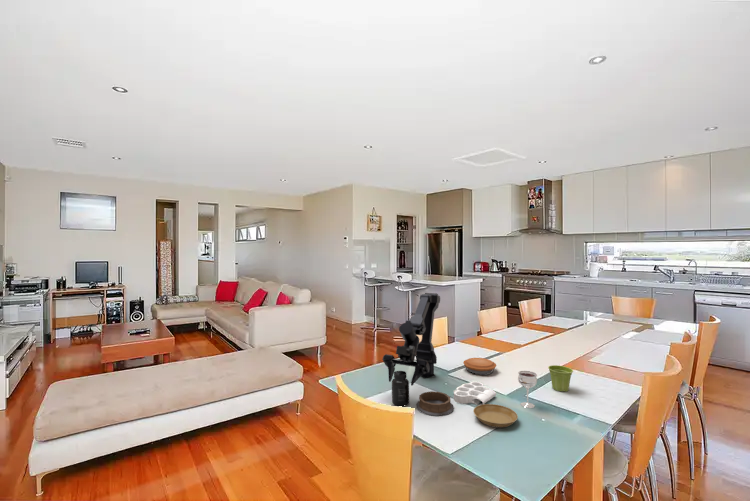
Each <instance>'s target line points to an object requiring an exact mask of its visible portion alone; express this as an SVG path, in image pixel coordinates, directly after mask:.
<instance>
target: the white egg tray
mask: <svg viewBox="0 0 750 501" xmlns="http://www.w3.org/2000/svg"><path fill="white" fill-rule="evenodd" d="M452 391H453V401H454V402H455V403H457V404H461V405H464V404H465V405H467V404H473V405H475V406H476V405H477V406H479V405H483V404H487V403H488V402H489V401H491V399H493V398H494V397H496V395H497V392H496V391H495V390H493V389H492V388H490V387H486V386H484V383H482V382H480V381H470V382H467V383H463V384H461V385H460V386H457V387H456V388H455V389H454V390H452ZM481 402H482V403H481Z"/></svg>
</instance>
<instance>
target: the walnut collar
mask: <svg viewBox="0 0 750 501" xmlns="http://www.w3.org/2000/svg"><path fill="white" fill-rule="evenodd" d="M418 399H419V400H418V401H417V402H416V404H415V406H416V410H417V411H418V412H420V413H422V414H424V415H426V416H431V417H432V416H433V417H443V416H448V415H450V414H452V413H453V412H454V410H455V409H454V404H453V403H452V402H451V396H449V394H447V393H444V392H442V391H441V392H440V391H433V390H431V391H426V392H423V393H421V394H419V398H418Z"/></svg>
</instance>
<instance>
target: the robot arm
mask: <svg viewBox="0 0 750 501" xmlns="http://www.w3.org/2000/svg"><path fill="white" fill-rule="evenodd" d="M440 303H441V296H440V295H439V293H436V292H435V293H434V292H433V293H432V292H424V293H422V294H420V296H419V302H418V304H417V307H416V308H415V313H414V314H413V316H411V317H410V318H409V320H405V322H404V323H402V324H400V326H399V328H398V331H399V334H400V335H401V338H402V339H403V340H404V343H403V345H397V346H396V350H395V351H396V352H395V355H397V357H398V358H399V359H398V358H395V356H394V355H393V354H387V353H385V354H384V355H383V357H382V359H381V360H382V362H383V364H384V365H385V366H386V367H387V369H388V370H387V372H388V382H389V383H390V382H391V383H392V380H393V378H394V372H395V371H396V368H395V367H396V365H399V366H405V367H406V366H408V367H413V368H414V372H413V375H412V378H411V381H410V385H411V386H413V385H415V383H416V382H417V381H418V380H419V379H420V378H424V379H426V378H431V377H432V378H434V377H436V375H437V374H435V367H434V366H435V365H437V360H438V359H437V358H438V357H437V354H436V352H435V348H434V345H433V343H432V341H433V340H432V338H433V328H434V322H435V321H434V320H435V312H436V311H437V310H438V308H439V305H440ZM419 336H421V340H420V338H419Z"/></svg>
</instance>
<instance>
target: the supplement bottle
mask: <svg viewBox="0 0 750 501" xmlns="http://www.w3.org/2000/svg"><path fill="white" fill-rule="evenodd" d="M391 402H392V405H393V406H395V407H399V406H403V407H405V406H404V405H407V406H409V404H410V380H408V378H407V371H404V370H395V371H394V374H393V378H392V380H391Z"/></svg>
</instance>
